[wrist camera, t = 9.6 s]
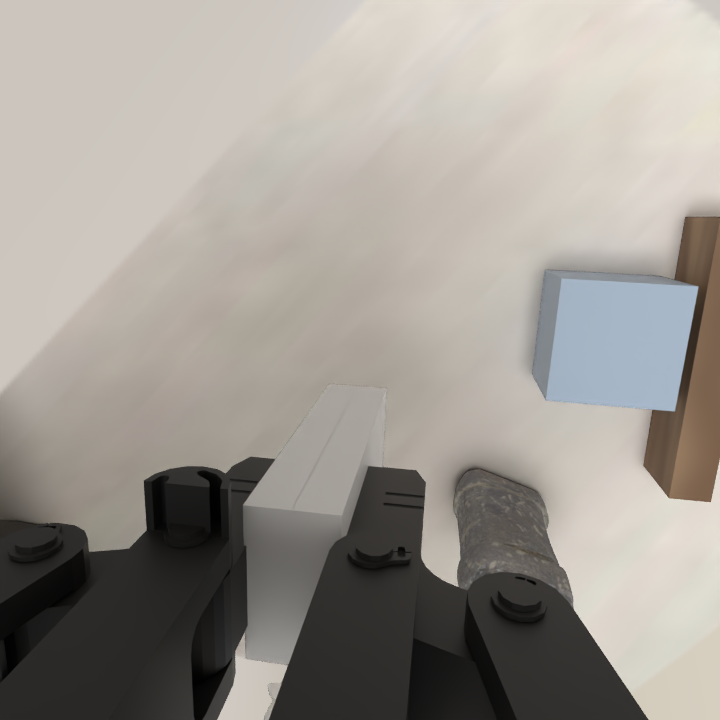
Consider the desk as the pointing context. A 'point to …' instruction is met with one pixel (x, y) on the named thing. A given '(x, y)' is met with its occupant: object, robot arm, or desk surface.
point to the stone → (504, 532)
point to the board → (693, 378)
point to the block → (613, 338)
